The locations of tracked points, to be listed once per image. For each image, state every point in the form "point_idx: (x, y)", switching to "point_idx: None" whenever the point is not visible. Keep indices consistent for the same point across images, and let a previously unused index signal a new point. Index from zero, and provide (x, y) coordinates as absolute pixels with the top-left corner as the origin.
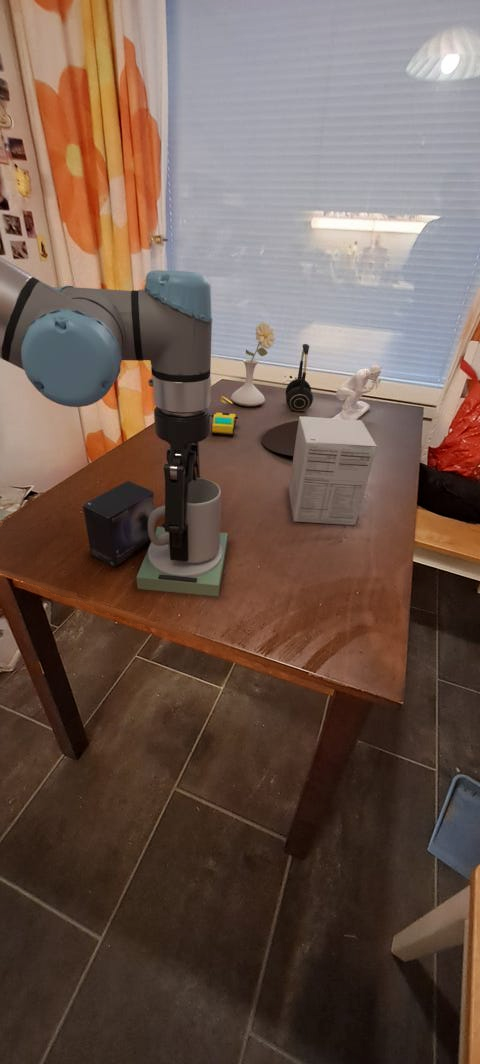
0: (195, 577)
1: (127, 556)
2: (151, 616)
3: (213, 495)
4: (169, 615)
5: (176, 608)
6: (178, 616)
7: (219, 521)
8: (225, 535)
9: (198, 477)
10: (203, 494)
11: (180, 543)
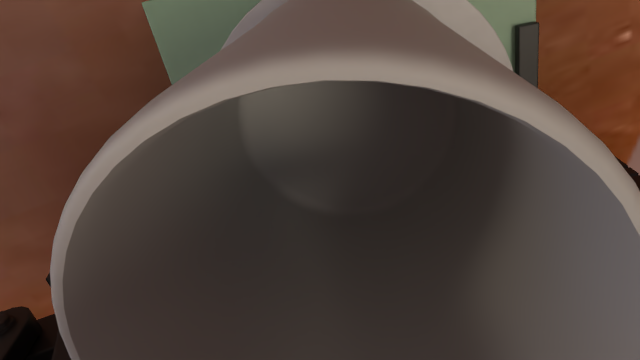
0: (499, 38)
1: None
2: (635, 122)
3: (160, 149)
4: (628, 68)
5: (592, 58)
6: (633, 36)
7: (339, 1)
8: (165, 7)
9: (14, 344)
10: (158, 226)
11: (627, 169)
